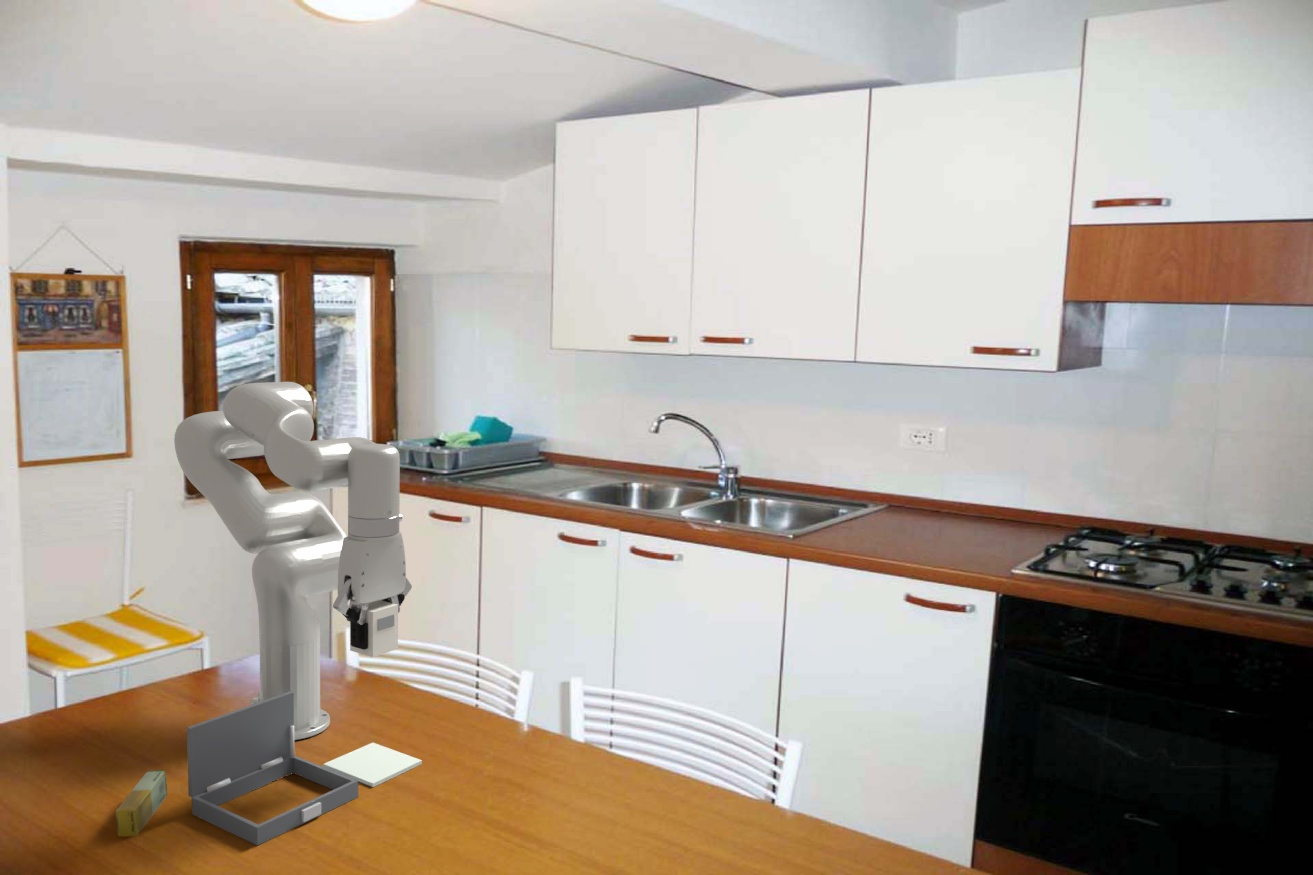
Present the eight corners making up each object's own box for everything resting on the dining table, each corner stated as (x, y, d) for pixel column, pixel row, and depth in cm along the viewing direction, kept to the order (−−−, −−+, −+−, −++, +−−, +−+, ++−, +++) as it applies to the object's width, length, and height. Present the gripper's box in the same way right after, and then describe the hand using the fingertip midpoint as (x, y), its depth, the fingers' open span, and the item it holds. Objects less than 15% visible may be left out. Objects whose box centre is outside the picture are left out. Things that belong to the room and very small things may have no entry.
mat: (323, 767, 164) (323, 763, 163) (372, 745, 172) (372, 742, 172) (373, 787, 158) (373, 783, 158) (421, 763, 166) (421, 760, 166)
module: (350, 650, 162) (350, 605, 161) (375, 642, 166) (375, 598, 165) (373, 657, 159) (373, 612, 158) (398, 648, 163) (398, 604, 162)
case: (188, 812, 148) (186, 727, 146) (290, 769, 163) (290, 691, 161) (260, 846, 140) (258, 756, 138) (360, 797, 154) (360, 715, 153)
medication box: (148, 795, 153) (147, 769, 152) (168, 795, 153) (166, 768, 153) (116, 838, 141) (114, 809, 141) (137, 837, 141) (136, 809, 141)
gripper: (398, 514, 169) (397, 624, 171) (311, 531, 155) (312, 652, 157) (432, 521, 165) (431, 633, 167) (346, 539, 151) (346, 662, 153)
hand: (373, 641), depth 162 cm, fingers closed on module, 5 cm apart
